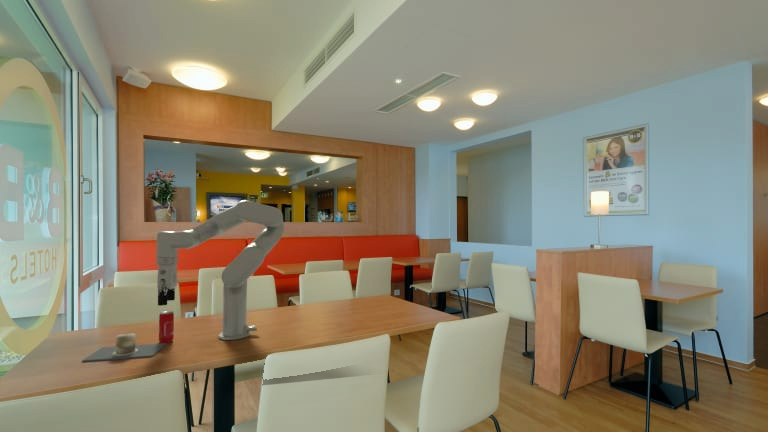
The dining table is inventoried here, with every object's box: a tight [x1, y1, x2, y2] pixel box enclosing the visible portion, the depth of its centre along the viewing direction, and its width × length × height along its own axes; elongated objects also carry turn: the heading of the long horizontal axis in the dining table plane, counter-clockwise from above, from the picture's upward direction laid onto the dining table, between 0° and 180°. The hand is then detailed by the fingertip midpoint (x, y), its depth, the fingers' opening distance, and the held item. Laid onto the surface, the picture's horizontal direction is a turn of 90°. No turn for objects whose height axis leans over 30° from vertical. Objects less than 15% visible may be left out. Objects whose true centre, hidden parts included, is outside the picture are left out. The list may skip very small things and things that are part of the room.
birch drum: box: [115, 332, 137, 355], centre depth 137 cm, size 6×6×6 cm
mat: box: [81, 343, 167, 363], centre depth 138 cm, size 22×14×1 cm, turn 104°
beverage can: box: [158, 310, 175, 344], centre depth 151 cm, size 5×5×12 cm
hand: (166, 302), depth 151 cm, fingers open, 9 cm apart
